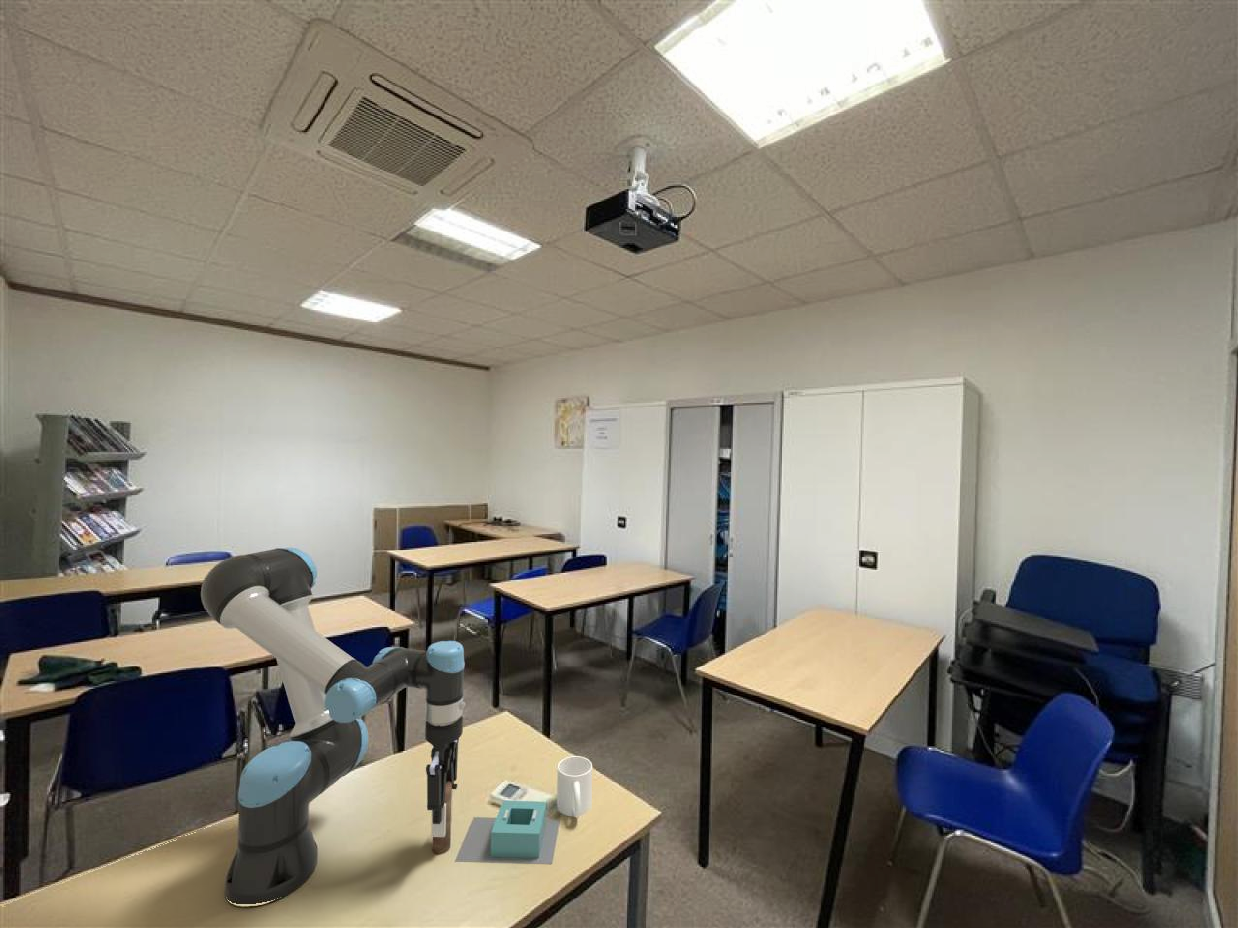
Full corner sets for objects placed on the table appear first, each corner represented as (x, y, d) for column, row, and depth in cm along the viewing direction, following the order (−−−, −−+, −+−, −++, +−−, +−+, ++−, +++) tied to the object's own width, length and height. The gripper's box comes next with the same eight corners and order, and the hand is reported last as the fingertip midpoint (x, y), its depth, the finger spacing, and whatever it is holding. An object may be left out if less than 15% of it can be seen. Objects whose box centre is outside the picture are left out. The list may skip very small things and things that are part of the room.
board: (454, 865, 103) (454, 861, 103) (473, 821, 116) (473, 816, 116) (552, 868, 102) (552, 863, 102) (560, 823, 115) (560, 819, 115)
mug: (594, 830, 114) (595, 784, 114) (558, 833, 112) (559, 787, 112) (589, 795, 126) (590, 754, 126) (556, 798, 124) (556, 757, 124)
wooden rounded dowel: (429, 858, 104) (431, 791, 105) (436, 845, 108) (437, 780, 108) (446, 859, 104) (448, 791, 105) (452, 846, 108) (454, 780, 108)
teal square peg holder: (490, 856, 104) (491, 829, 104) (502, 822, 114) (502, 798, 114) (538, 857, 104) (539, 831, 104) (546, 823, 114) (546, 799, 114)
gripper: (448, 739, 98) (445, 859, 98) (473, 700, 115) (471, 803, 114) (410, 738, 98) (407, 858, 98) (441, 699, 115) (438, 802, 115)
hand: (441, 828), depth 106 cm, fingers closed on wooden rounded dowel, 3 cm apart
